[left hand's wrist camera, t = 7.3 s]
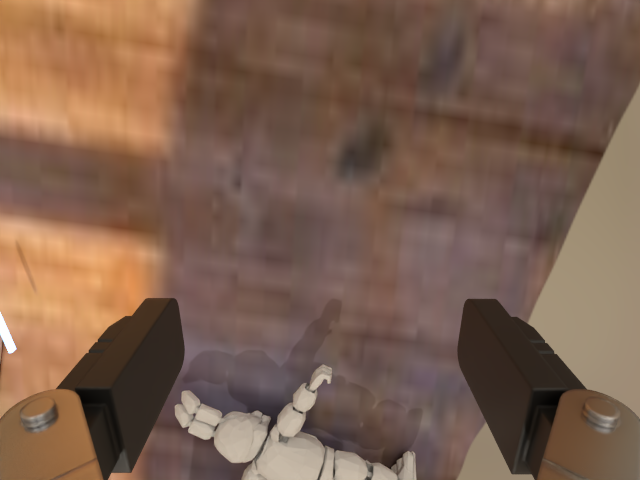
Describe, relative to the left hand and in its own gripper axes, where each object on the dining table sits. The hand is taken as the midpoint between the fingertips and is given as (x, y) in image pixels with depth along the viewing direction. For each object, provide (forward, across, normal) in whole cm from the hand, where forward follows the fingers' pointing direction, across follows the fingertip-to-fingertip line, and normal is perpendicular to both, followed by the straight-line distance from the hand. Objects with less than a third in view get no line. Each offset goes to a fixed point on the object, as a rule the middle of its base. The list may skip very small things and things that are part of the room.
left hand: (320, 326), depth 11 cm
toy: (+29, +3, +35) cm, 46 cm away
